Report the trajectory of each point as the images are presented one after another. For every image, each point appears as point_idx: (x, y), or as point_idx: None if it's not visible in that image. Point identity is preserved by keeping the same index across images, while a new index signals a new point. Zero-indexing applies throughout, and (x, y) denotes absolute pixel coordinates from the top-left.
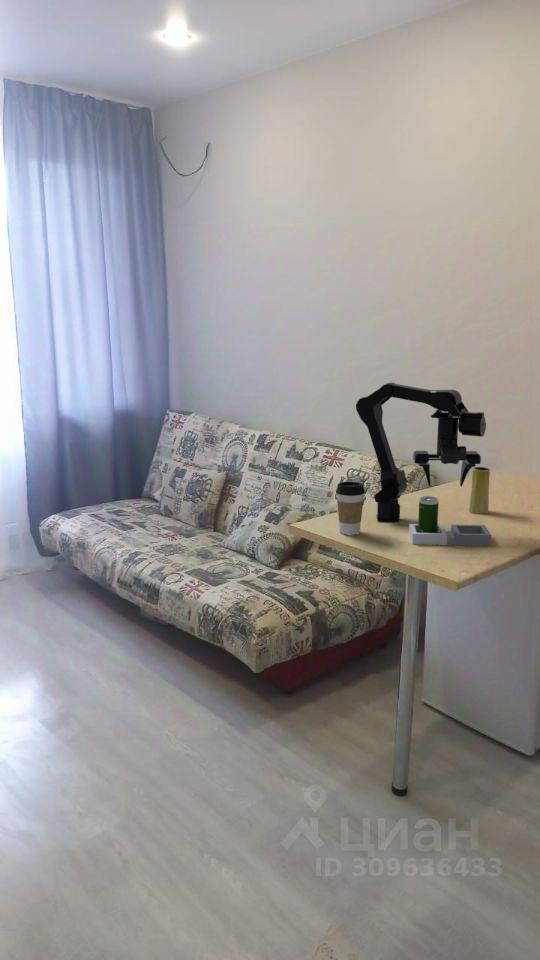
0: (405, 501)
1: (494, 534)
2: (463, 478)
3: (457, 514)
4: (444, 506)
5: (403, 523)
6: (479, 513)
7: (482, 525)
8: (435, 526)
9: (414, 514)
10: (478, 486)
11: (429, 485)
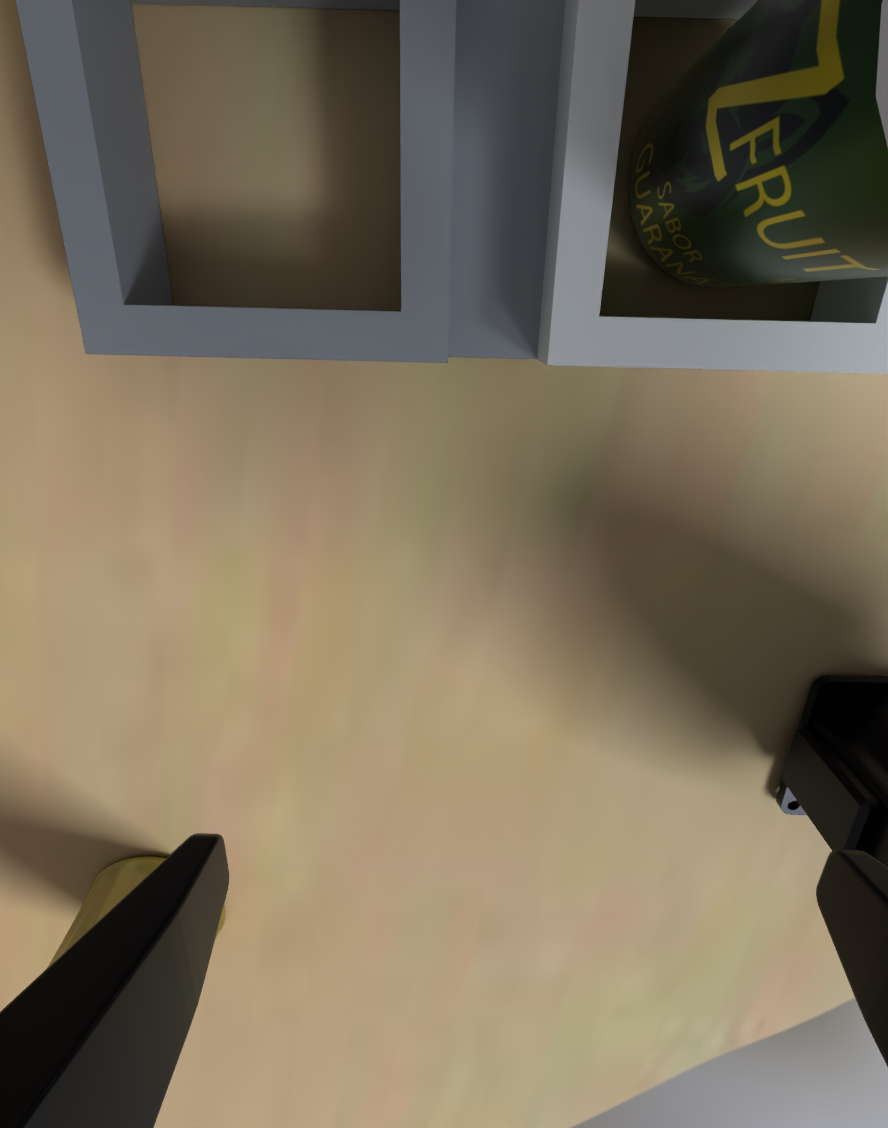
0: (610, 1056)
1: (42, 367)
2: (73, 990)
3: (314, 847)
4: (380, 983)
5: (780, 649)
6: (155, 858)
7: (107, 333)
8: (734, 25)
9: (625, 843)
10: None
11: (857, 851)
